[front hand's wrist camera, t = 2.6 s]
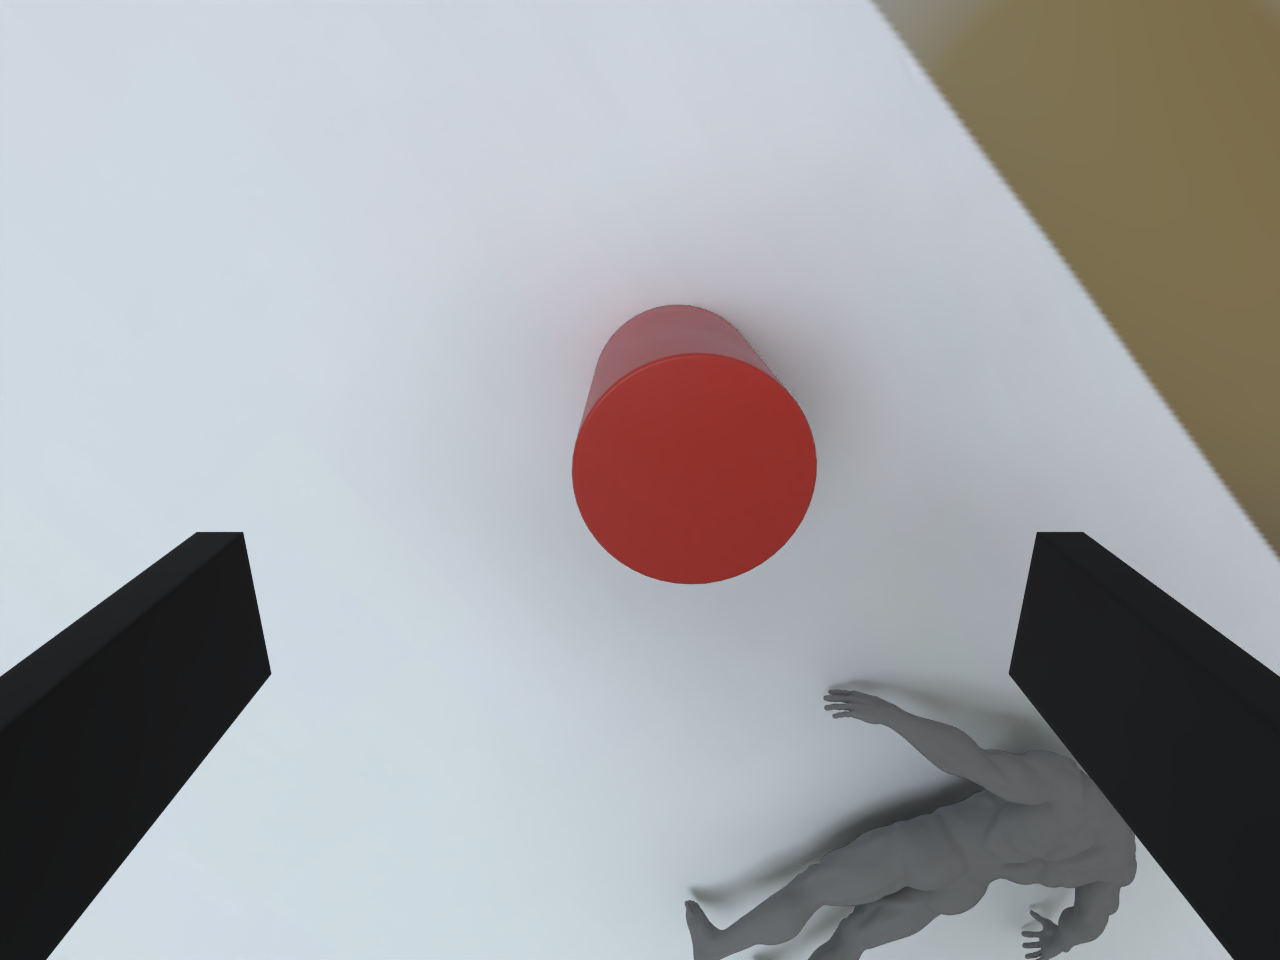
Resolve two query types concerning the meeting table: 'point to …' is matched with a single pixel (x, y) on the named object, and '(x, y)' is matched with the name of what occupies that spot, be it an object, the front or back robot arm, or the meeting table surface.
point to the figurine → (952, 852)
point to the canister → (690, 450)
